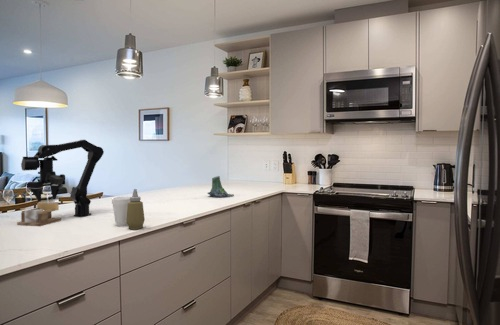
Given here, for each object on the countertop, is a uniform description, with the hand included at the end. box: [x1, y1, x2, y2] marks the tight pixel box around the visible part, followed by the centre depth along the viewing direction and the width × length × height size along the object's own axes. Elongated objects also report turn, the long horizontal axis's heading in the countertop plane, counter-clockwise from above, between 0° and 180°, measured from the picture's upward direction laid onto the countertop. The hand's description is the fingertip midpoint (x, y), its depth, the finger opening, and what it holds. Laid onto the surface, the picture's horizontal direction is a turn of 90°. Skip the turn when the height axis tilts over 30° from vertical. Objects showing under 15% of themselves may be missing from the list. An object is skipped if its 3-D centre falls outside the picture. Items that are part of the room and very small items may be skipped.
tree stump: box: [206, 175, 235, 199], centre depth 256 cm, size 18×20×18 cm
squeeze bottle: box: [126, 188, 145, 230], centre depth 154 cm, size 8×8×18 cm
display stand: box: [16, 208, 62, 227], centre depth 166 cm, size 13×13×7 cm
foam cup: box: [111, 196, 131, 227], centre depth 161 cm, size 10×9×13 cm
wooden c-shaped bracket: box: [21, 201, 60, 214], centre depth 167 cm, size 11×11×4 cm
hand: (47, 200), depth 171 cm, fingers open, 9 cm apart
